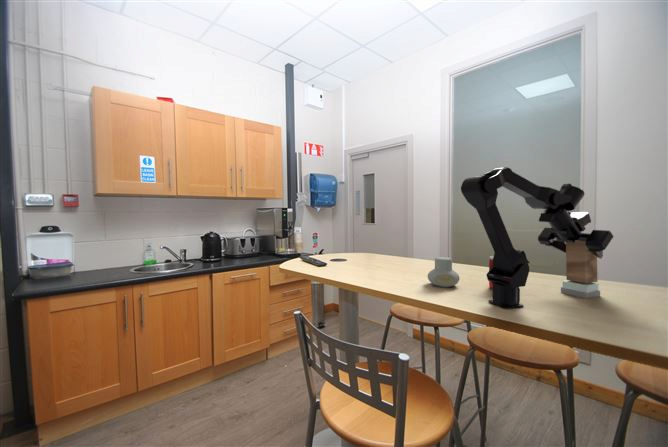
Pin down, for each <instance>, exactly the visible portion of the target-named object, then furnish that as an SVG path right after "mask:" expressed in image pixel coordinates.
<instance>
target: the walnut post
mask: <svg viewBox="0 0 668 447" xmlns="http://www.w3.org/2000/svg"><path fill="white" fill-rule="evenodd" d="M585 243H586V241H578V240H576V241H575V242H574V243H572V242H565V244H566V253H565V260H566V273H565V274H566V280H570V281H577V282H584V283H591V282H594V283H598V282H599V281H598V257H597V256H595V255H594V254H593V253H591V252H590V251H589V250H588V249H589V248H587V247H586V245H585Z"/></svg>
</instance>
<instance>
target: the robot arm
mask: <svg viewBox="0 0 668 447" xmlns="http://www.w3.org/2000/svg"><path fill="white" fill-rule="evenodd" d="M502 187H503V188H504V189H506V190H509V191H510V192H512V193H514V194H516V195H518V196H520V197H522V198H523V199H524V201H525V203H526V204H527V206H529V207H530V208H532V209H534V210H543V211H542V212H541V213H540V216H539V218H538V222H541V223H543V222H544V223H548V225H549V226H550V227H549V226H548V227H544V228H543V229H542V230H541V231H540V234H539V235H538V237H537V241H538V243H539V244H540V245H544V246H545V247H549V248H552V249H555V250H557V251H558V252H561V253H563V254H566V242H572V243H574V242H575V241H576V240H578V241H586V243H585V245H586V247H587V248H589V249H588V250H589V251H590V252H591V253H593V254H594V255H595V256H597V259H600V260H601V259H602V258H603V257H604V254H603V253H604V250H606V249H607V247H608V246H609V244H610V243H611V241H612V240H613V239H614V237H615V236H614V234H613V233H612V232H611V231H610V230H605V229H604V230H603V229H592V231H591V232H590V233H586V232H585V233H584V231H586V227H585V226H586V225H588V224H591V223H592V219H591V215H590V212H588V211H574V212H572V211H573V210H575V209H576V207H577V206H578V205H579V203H580V202H581V200H582V199H583V198H584V196H585V191H584V189H581V188H580V187H577V186H575V185H572V184H571V183H563V184H562V185H561V187H560V189H559V190H558V189H556V188H552V187H549V186H542V185H538V184H537V183H534V182H532V181H531V180H529V179H527V178H526V177H523V176H522V175H519V174H518V173H517V172H514V171H513V170H512V168H510V167H506V166H505V167H498V168H492V170H490V171H488V172H485V173H482V174H480V175H476V176H470V177H466V178H465V179H464V180H463V182H461V186H460V191H461V192H460V193H461V194H462V196H463V197H464V199H465V201H467V203H468V204H469V205H471V206H472V207H473V208H474V209H475V210H476V212H477V213H478V217H479V218H480V221H481V223H482V225H483V228H484V231H485V233H486V235H487V238H488V240H489V242H490V245H491V247H492V249H493V252H494V254H493V255H492V256H493V267H492V268H491V269H490V270H489V269H488V270H489V271H487V273H486V279H487V281H488V282H489V281H492V282H495V283H493V290H492V299H489V300H488V301H487V302H488V303H491V304H493V305H495V306H498V307H500V308H502V309H514V308H523V307H524V304H523V303H520V300H521V299H520V296H521V295H520V294H521V290H520V288H522V287H525V286H526V285H527V281H528V278H529V274H530V265H529V264H530V261H529V260H528V258H527V255H526V252H525V251H524V250H521V249H520V250H519V249H516V248H515V247H514V245H513V243H512V241H511V238H510V235H509V233H508V230H507V229H506V225H505V223H504V221H503V218H502V216H501V213H500V211H499V208H498V206H497V199H498V195H499V193H498V189H500V188H502ZM582 232H583V233H582ZM502 276H505V277H509V278H510V279H509V278H505V277H502Z"/></svg>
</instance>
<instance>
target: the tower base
mask: <svg viewBox="0 0 668 447" xmlns="http://www.w3.org/2000/svg"><path fill="white" fill-rule="evenodd" d="M560 293H561V294H566V295H569V296H573V297H579V298H580V299H589V298H590V297H591V298H598V297H601V290H599V289H598V290H597V291H593V292H589V293H585V292H580V291H576V290H571V289H566V288H563V286H560ZM591 298H590V299H591Z"/></svg>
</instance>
